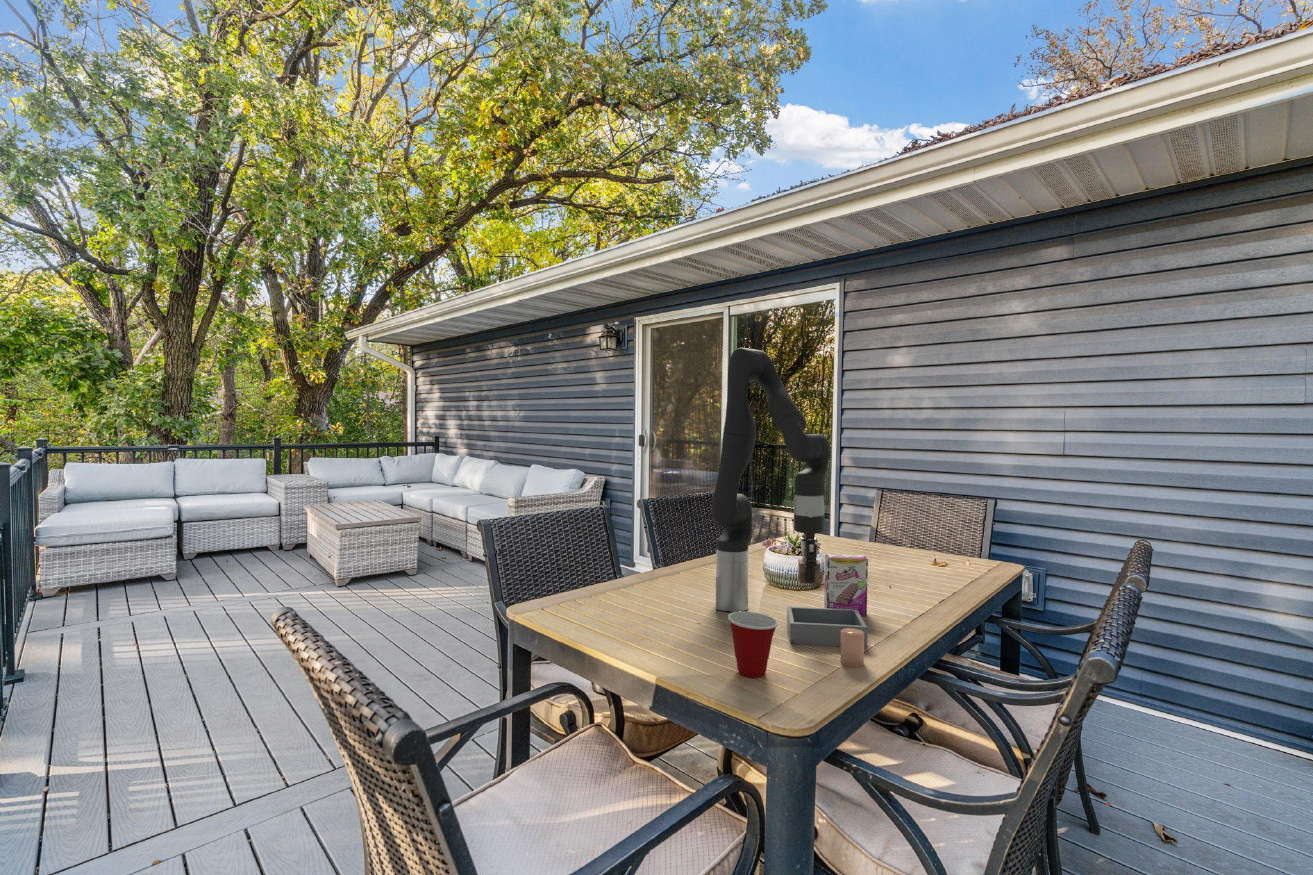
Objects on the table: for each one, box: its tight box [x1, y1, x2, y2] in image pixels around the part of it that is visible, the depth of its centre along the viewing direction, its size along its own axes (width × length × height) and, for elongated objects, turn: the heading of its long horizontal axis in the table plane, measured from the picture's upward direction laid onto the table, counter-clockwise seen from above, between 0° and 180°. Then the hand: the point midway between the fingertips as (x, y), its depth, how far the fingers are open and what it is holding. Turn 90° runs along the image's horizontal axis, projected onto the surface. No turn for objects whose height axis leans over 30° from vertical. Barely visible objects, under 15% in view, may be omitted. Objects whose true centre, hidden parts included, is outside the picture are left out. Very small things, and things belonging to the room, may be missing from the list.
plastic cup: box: [727, 611, 779, 679], centre depth 130 cm, size 11×11×12 cm
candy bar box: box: [823, 553, 869, 617], centre depth 171 cm, size 11×5×16 cm, turn 84°
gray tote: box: [786, 606, 868, 649], centre depth 152 cm, size 18×14×5 cm
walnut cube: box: [797, 558, 821, 585], centre depth 153 cm, size 5×5×5 cm
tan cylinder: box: [840, 628, 865, 668], centre depth 135 cm, size 5×5×7 cm
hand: (808, 579), depth 153 cm, fingers closed on walnut cube, 5 cm apart
